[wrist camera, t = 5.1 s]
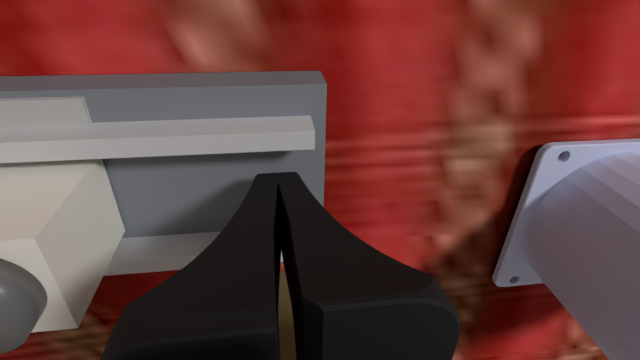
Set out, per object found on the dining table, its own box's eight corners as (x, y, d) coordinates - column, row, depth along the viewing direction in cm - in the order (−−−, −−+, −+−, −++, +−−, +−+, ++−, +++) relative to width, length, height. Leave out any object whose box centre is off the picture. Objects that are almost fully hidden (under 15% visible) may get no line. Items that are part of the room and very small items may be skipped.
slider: (100, 154, 12) (14, 264, 7) (125, 230, 13) (64, 356, 9) (-7, 158, 11) (-159, 277, 7) (32, 236, 13) (-75, 371, 9)
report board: (320, 70, 13) (338, 107, 10) (317, 232, 16) (329, 294, 13) (-318, 82, 10) (-544, 133, 8) (-157, 266, 14) (-268, 349, 11)
